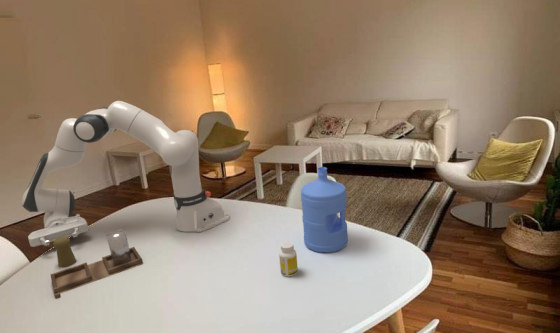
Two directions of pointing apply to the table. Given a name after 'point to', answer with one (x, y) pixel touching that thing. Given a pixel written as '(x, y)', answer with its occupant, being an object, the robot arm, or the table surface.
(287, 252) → the supplement bottle
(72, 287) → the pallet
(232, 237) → the table surface
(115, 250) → the steel cylinder
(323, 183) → the water jug
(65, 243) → the cork
